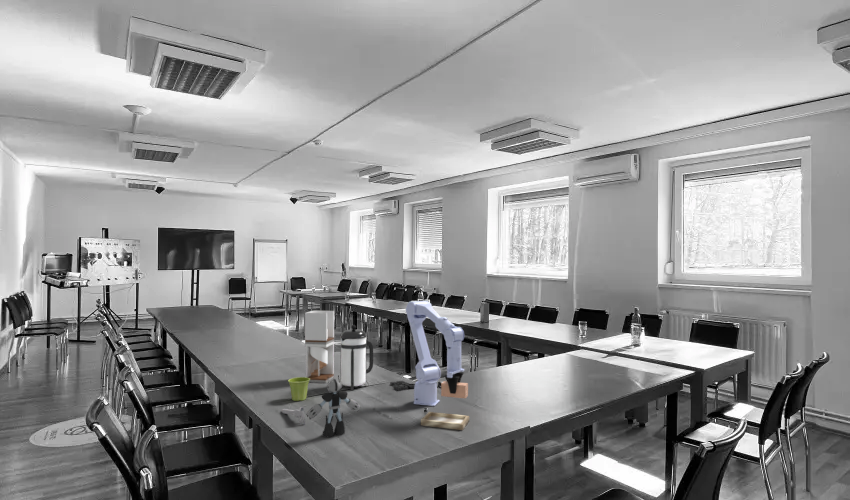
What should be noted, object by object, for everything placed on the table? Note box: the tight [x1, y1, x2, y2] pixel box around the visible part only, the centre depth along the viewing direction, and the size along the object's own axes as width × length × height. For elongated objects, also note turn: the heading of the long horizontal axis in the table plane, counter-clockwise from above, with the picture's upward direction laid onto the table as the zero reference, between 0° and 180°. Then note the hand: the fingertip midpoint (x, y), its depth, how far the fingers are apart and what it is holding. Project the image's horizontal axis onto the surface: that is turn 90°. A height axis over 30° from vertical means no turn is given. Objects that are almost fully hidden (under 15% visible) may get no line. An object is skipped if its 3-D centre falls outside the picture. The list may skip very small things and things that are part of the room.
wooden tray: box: [420, 411, 470, 431], centre depth 173 cm, size 16×10×2 cm, turn 71°
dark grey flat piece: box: [389, 380, 444, 392], centre depth 227 cm, size 20×25×3 cm
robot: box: [305, 375, 361, 438], centre depth 163 cm, size 20×5×20 cm, turn 120°
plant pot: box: [287, 376, 310, 402], centre depth 205 cm, size 9×9×9 cm
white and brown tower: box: [304, 310, 335, 384], centre depth 239 cm, size 11×11×35 cm
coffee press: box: [339, 324, 374, 391], centre depth 227 cm, size 17×16×30 cm
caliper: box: [280, 406, 306, 426], centre depth 180 cm, size 21×1×6 cm, turn 39°
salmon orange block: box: [440, 380, 469, 399], centre depth 186 cm, size 10×4×5 cm, turn 71°
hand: (454, 391), depth 186 cm, fingers closed on salmon orange block, 4 cm apart
